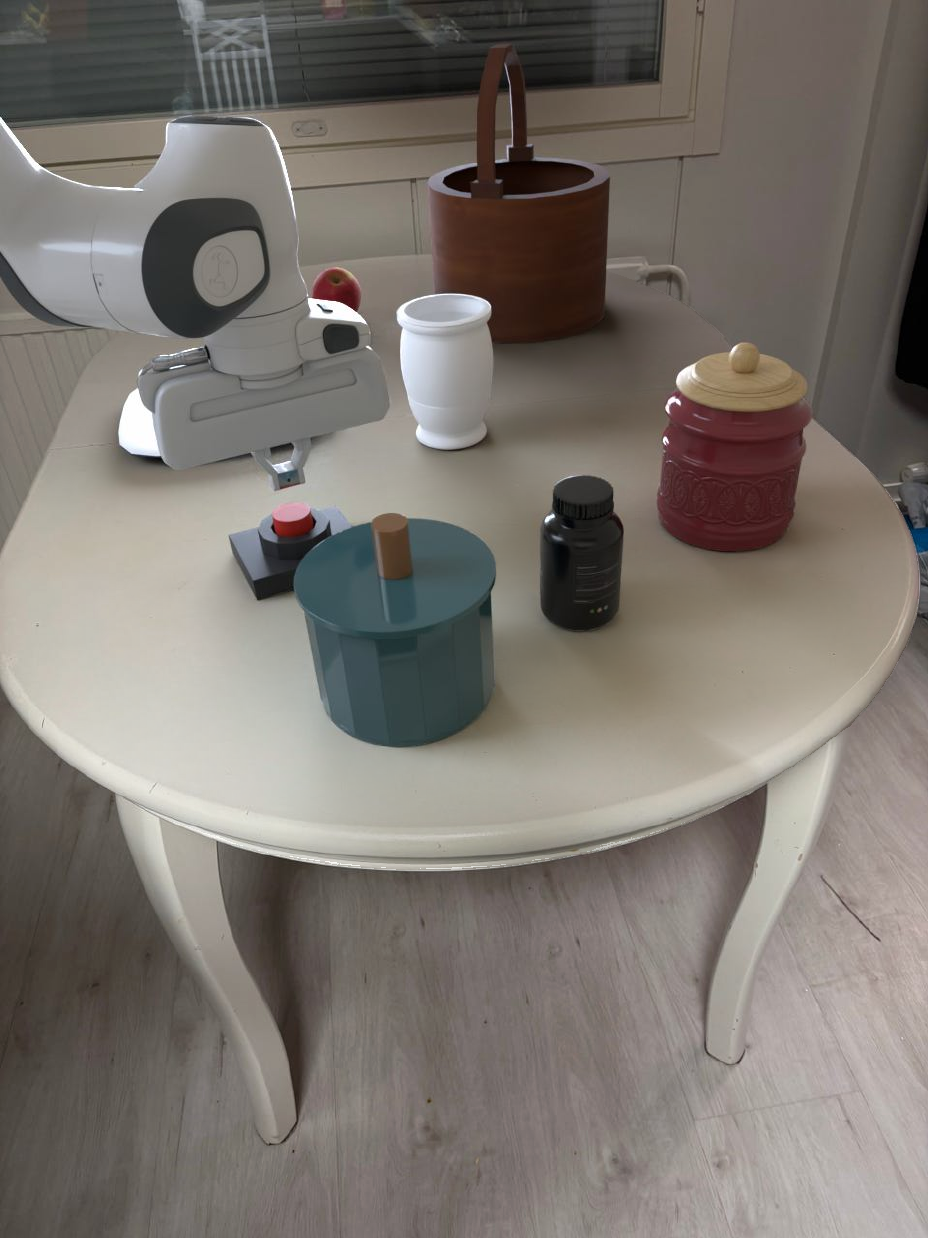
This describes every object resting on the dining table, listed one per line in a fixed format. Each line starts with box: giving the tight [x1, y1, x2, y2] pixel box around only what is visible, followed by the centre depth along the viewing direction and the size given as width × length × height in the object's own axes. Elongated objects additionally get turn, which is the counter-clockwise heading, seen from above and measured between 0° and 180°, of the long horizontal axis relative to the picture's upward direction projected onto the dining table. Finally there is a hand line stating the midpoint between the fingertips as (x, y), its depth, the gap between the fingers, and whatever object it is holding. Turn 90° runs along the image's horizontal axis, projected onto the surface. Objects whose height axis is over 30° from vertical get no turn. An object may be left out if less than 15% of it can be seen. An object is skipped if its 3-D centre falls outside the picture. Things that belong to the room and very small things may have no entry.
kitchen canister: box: [656, 342, 814, 552], centre depth 86 cm, size 13×13×18 cm
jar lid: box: [293, 512, 497, 639], centre depth 66 cm, size 15×15×5 cm
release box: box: [228, 505, 353, 601], centre depth 88 cm, size 11×9×4 cm
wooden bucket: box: [426, 42, 611, 344], centre depth 131 cm, size 26×26×35 cm
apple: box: [311, 266, 362, 314], centre depth 140 cm, size 8×8×8 cm
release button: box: [271, 501, 313, 537], centre depth 86 cm, size 4×4×2 cm
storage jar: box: [303, 592, 496, 748], centre depth 70 cm, size 14×14×10 cm
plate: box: [117, 387, 162, 459], centre depth 116 cm, size 25×25×2 cm
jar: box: [396, 294, 494, 451], centre depth 104 cm, size 11×10×15 cm
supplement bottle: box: [539, 474, 625, 632], centre depth 77 cm, size 7×7×12 cm
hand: (287, 484), depth 84 cm, fingers closed
